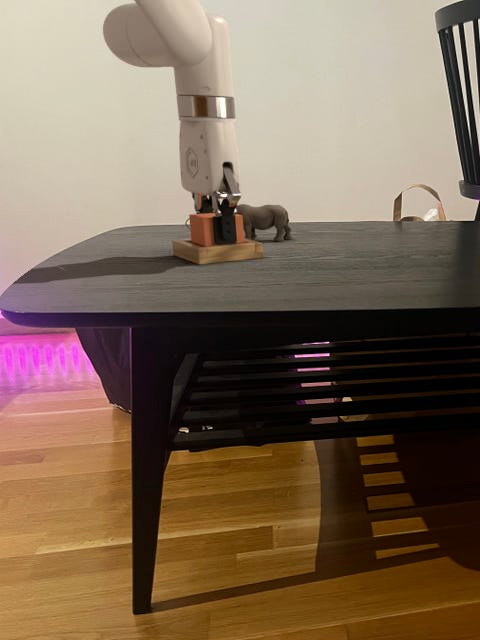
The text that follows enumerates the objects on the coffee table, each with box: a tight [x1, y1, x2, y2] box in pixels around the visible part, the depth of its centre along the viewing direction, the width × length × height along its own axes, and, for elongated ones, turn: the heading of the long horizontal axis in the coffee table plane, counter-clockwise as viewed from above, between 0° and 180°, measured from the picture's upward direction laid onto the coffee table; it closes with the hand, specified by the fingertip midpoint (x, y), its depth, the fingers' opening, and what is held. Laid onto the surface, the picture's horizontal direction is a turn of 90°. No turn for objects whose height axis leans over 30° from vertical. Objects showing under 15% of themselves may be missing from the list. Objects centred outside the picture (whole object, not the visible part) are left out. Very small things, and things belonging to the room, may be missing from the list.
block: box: [188, 213, 245, 246], centre depth 103 cm, size 6×5×4 cm
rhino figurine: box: [236, 203, 293, 242], centre depth 118 cm, size 4×14×6 cm, turn 107°
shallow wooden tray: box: [171, 237, 264, 265], centre depth 104 cm, size 10×9×2 cm
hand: (217, 239), depth 104 cm, fingers closed on block, 4 cm apart
